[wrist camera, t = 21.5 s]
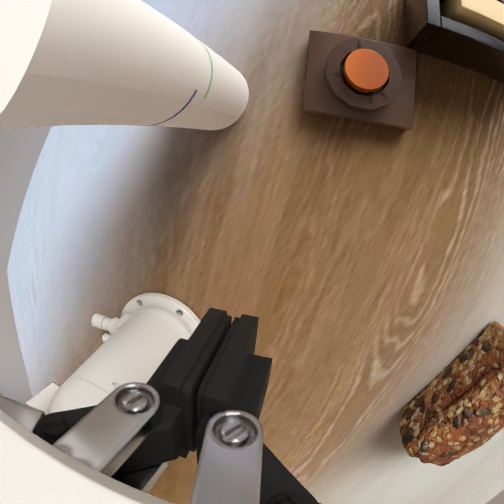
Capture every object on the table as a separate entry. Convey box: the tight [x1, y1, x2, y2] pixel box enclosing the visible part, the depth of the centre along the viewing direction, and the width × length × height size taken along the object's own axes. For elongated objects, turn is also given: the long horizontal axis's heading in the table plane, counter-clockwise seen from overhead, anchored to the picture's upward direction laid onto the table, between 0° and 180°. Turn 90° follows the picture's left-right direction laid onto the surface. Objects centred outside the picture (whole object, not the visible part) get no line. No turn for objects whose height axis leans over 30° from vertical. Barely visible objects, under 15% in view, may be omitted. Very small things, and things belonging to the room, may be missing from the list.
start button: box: [344, 49, 389, 93], centre depth 21 cm, size 4×4×2 cm
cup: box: [24, 383, 59, 415], centre depth 47 cm, size 5×5×12 cm
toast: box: [440, 0, 504, 41], centre depth 16 cm, size 8×2×8 cm, turn 84°
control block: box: [303, 31, 417, 131], centre depth 24 cm, size 10×8×4 cm
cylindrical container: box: [0, 0, 249, 130], centre depth 17 cm, size 7×7×25 cm
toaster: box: [404, 0, 504, 83], centre depth 17 cm, size 13×7×8 cm, turn 85°
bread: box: [399, 321, 504, 466], centre depth 28 cm, size 19×11×10 cm, turn 149°
